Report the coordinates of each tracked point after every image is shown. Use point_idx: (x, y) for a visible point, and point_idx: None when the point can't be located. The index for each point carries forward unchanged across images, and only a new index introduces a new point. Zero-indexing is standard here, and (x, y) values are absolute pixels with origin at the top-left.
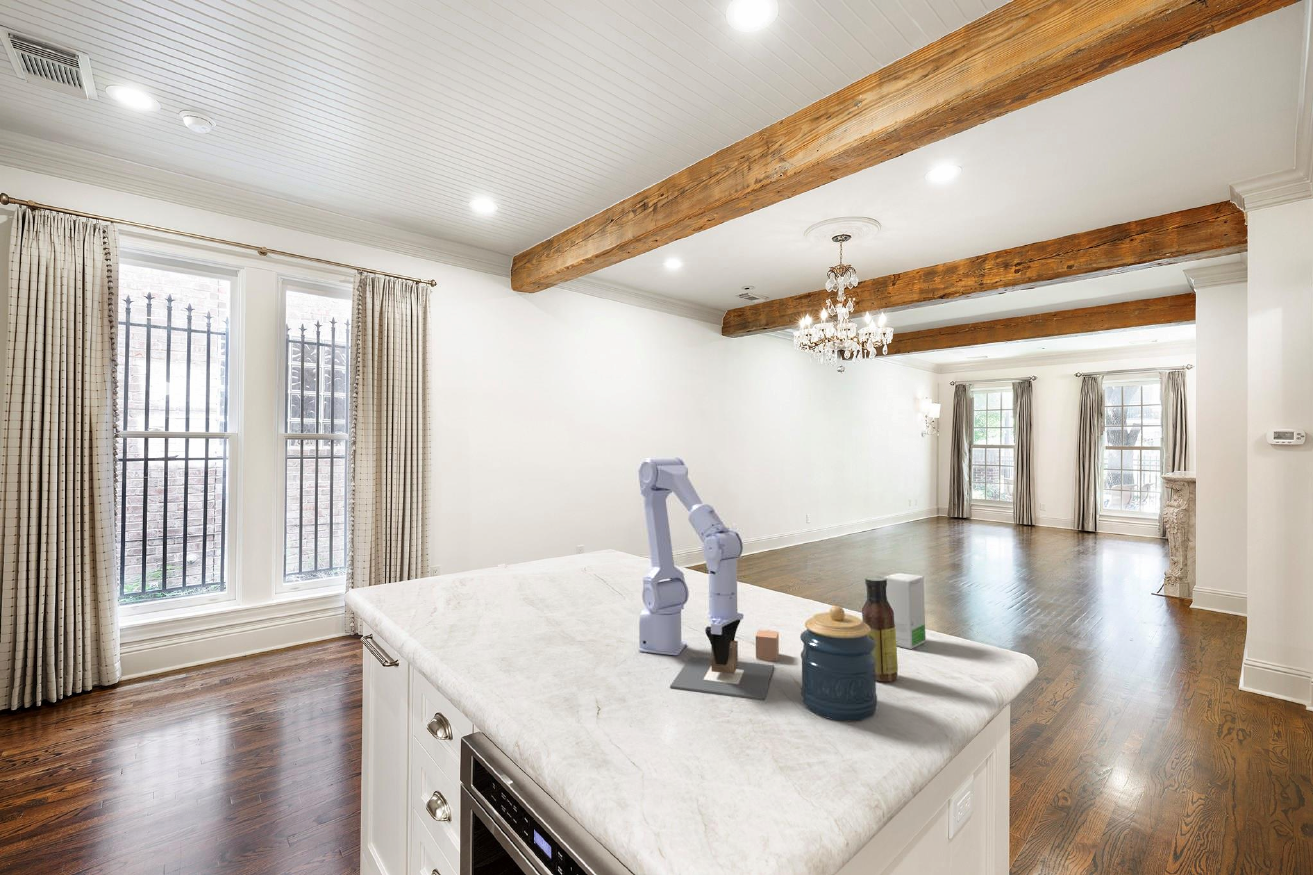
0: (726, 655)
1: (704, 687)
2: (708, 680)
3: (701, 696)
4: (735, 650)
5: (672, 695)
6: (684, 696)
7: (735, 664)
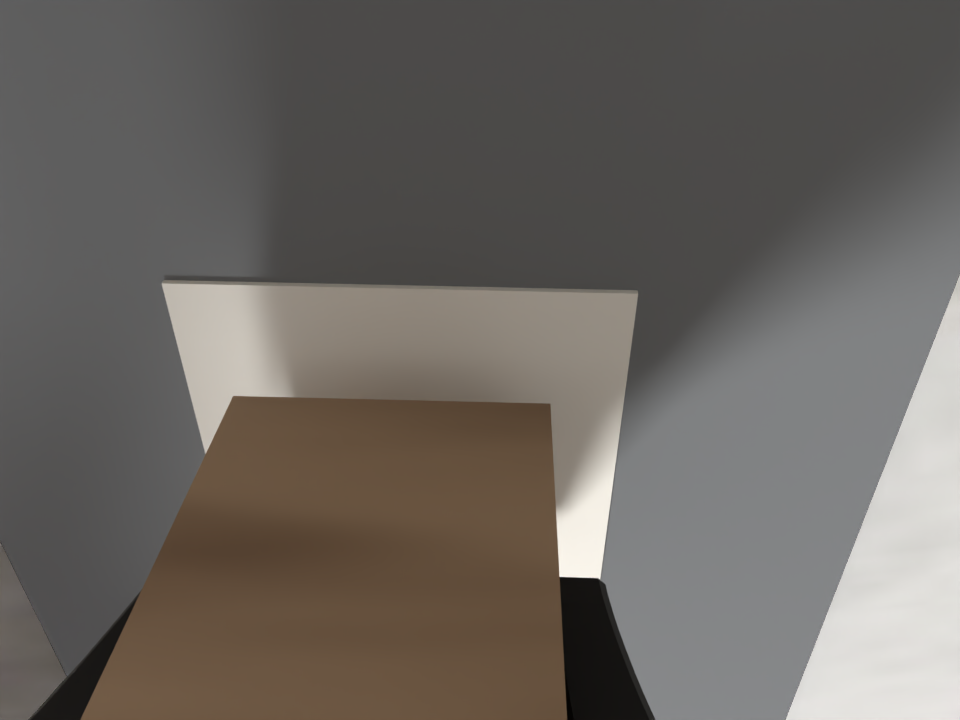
0: (648, 712)
1: (775, 569)
2: (600, 563)
3: (930, 552)
4: (373, 638)
5: (907, 713)
6: (928, 652)
7: (408, 456)
